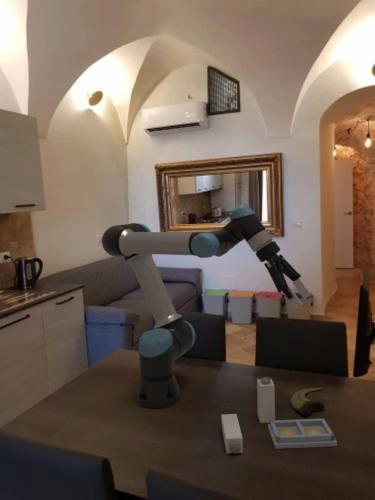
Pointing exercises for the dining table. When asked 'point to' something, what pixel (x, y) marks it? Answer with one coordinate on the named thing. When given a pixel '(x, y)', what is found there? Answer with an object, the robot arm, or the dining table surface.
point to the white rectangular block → (232, 434)
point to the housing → (301, 433)
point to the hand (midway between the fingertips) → (303, 301)
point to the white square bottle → (266, 400)
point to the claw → (306, 402)
